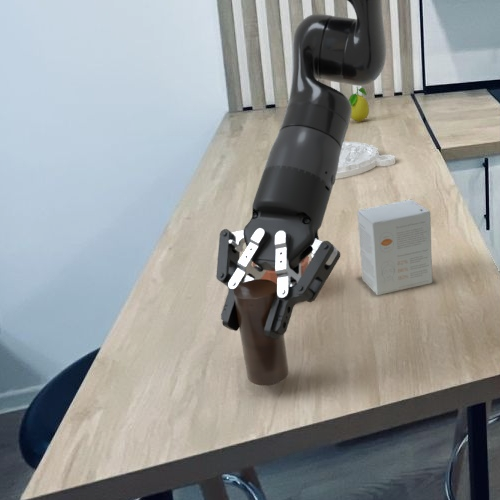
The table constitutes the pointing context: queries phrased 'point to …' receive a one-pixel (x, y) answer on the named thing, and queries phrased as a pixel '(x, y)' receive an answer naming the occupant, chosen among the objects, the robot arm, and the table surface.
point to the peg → (259, 333)
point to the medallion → (360, 159)
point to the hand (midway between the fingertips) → (250, 331)
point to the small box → (395, 246)
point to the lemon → (359, 106)
